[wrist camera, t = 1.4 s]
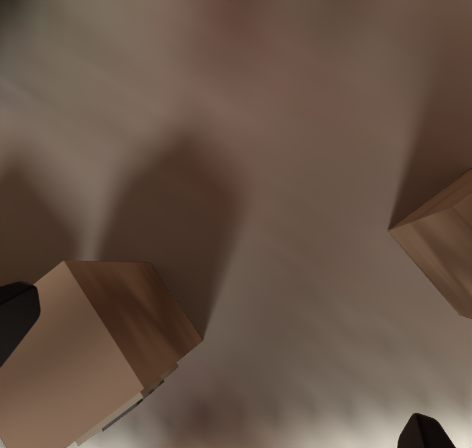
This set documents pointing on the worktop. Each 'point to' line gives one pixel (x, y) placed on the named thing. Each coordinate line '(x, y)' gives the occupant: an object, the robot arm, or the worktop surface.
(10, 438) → the numbered block
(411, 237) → the plain block
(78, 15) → the worktop surface
